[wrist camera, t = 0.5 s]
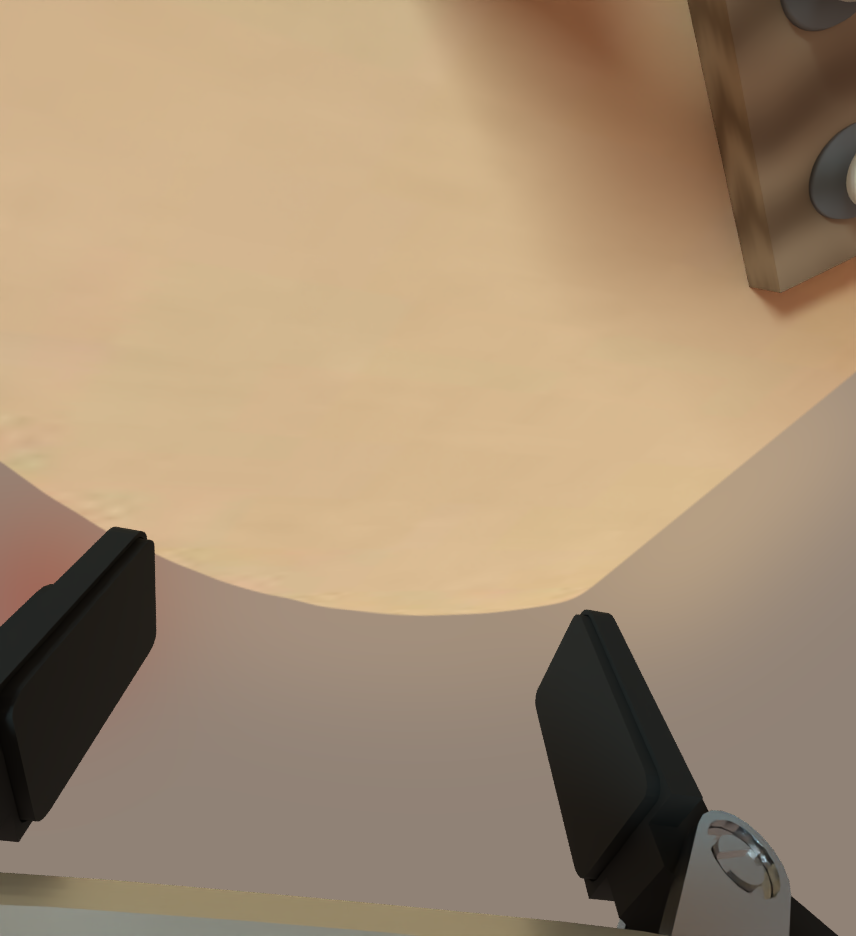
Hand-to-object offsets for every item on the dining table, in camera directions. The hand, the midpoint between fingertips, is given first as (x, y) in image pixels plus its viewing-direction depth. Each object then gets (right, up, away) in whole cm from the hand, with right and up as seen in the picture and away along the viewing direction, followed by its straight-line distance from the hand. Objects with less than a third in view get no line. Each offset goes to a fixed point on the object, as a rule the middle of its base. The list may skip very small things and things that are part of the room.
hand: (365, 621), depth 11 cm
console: (+29, +31, +24) cm, 49 cm away
